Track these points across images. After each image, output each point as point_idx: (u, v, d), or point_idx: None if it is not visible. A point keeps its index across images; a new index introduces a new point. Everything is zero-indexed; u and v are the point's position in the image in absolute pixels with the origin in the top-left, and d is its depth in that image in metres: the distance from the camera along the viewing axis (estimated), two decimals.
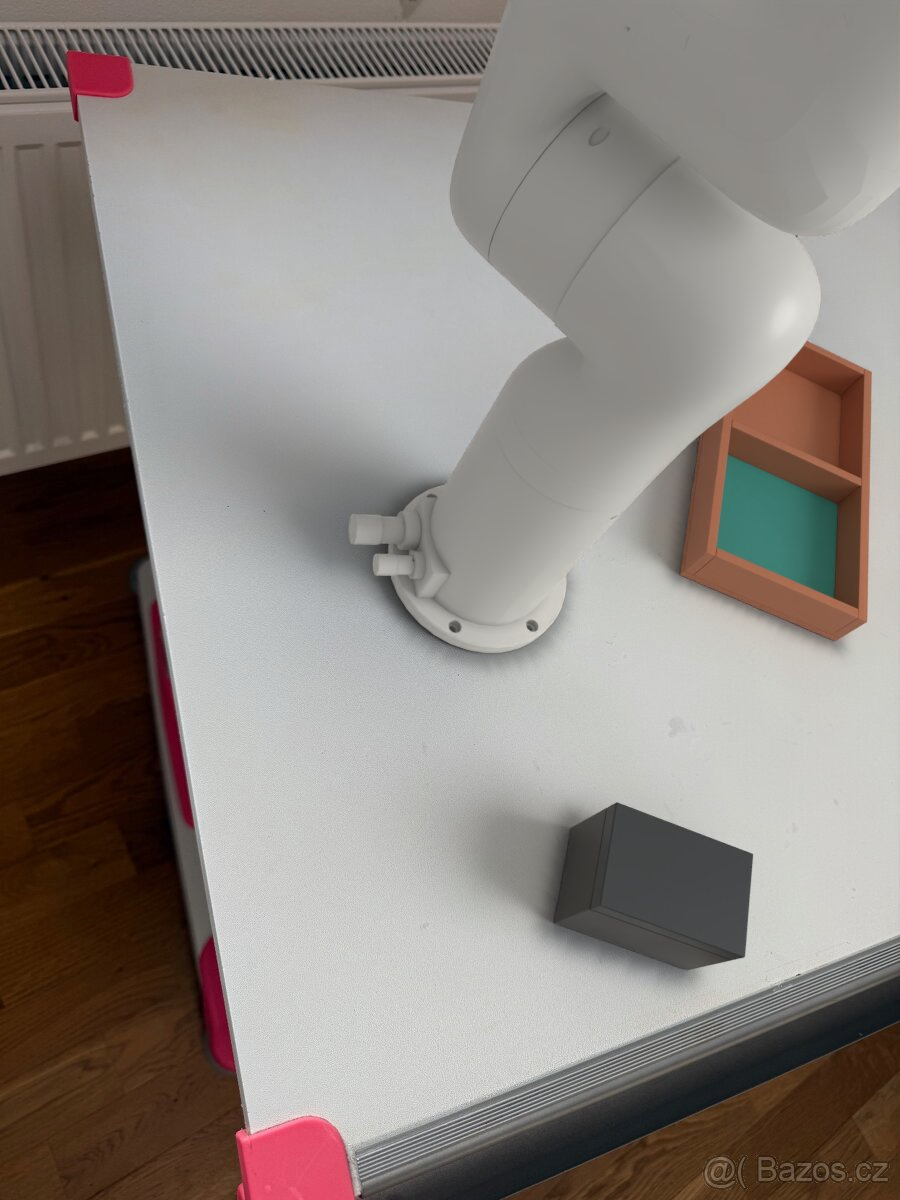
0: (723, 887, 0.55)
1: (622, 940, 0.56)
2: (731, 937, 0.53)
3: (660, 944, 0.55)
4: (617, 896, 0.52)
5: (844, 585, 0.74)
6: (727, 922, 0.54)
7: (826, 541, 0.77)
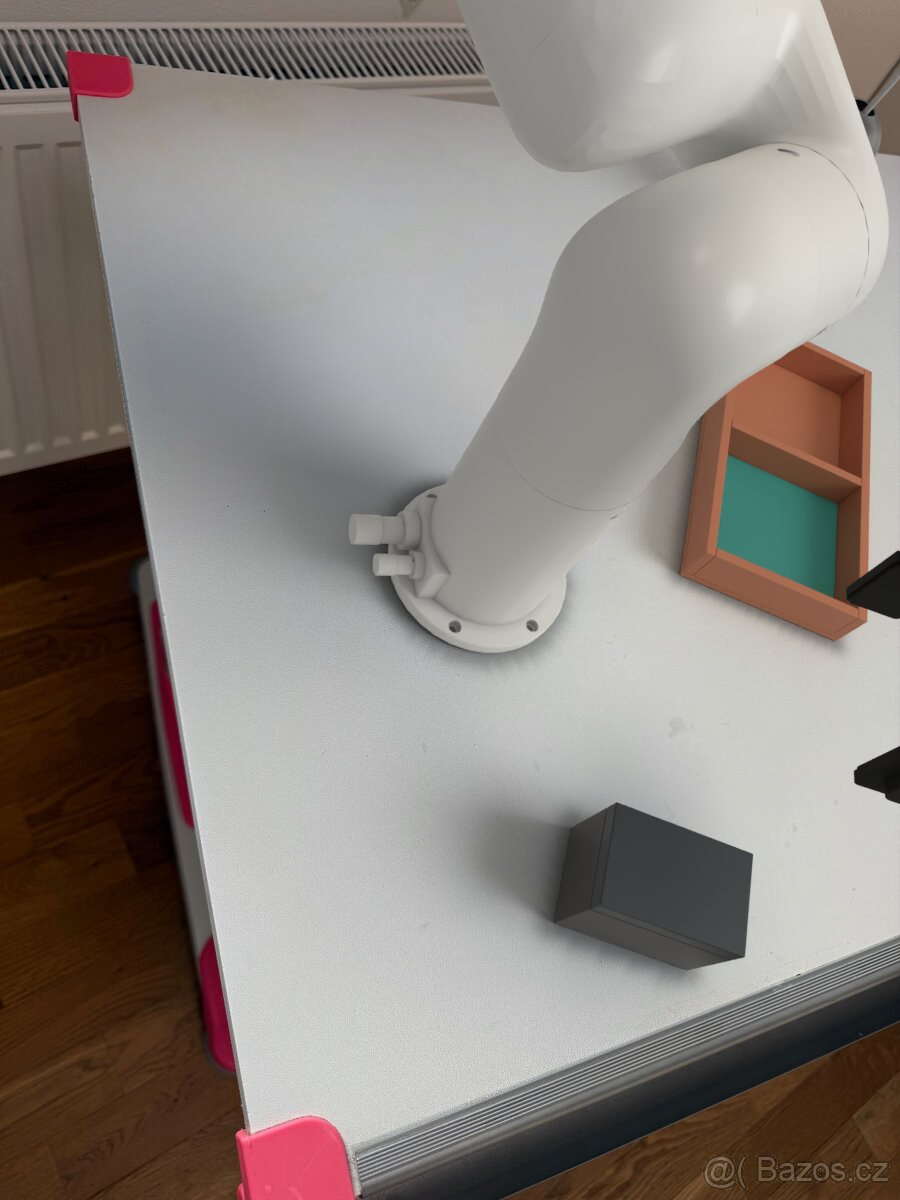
0: (723, 887, 0.55)
1: (622, 940, 0.56)
2: (731, 937, 0.53)
3: (660, 944, 0.55)
4: (617, 896, 0.52)
5: (844, 585, 0.74)
6: (727, 922, 0.54)
7: (826, 541, 0.77)
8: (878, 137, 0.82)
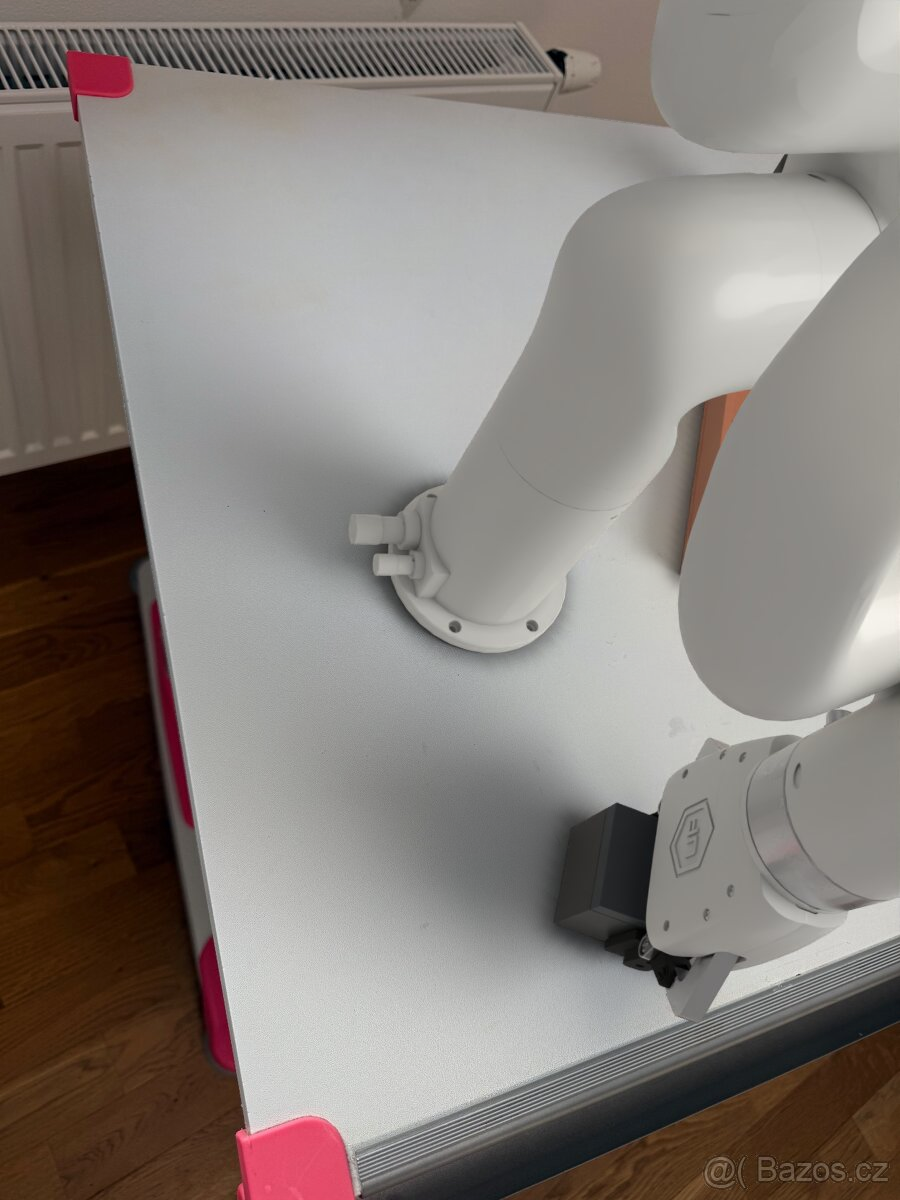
0: None
1: None
2: None
3: None
4: (617, 896, 0.52)
5: None
6: None
7: None
8: None
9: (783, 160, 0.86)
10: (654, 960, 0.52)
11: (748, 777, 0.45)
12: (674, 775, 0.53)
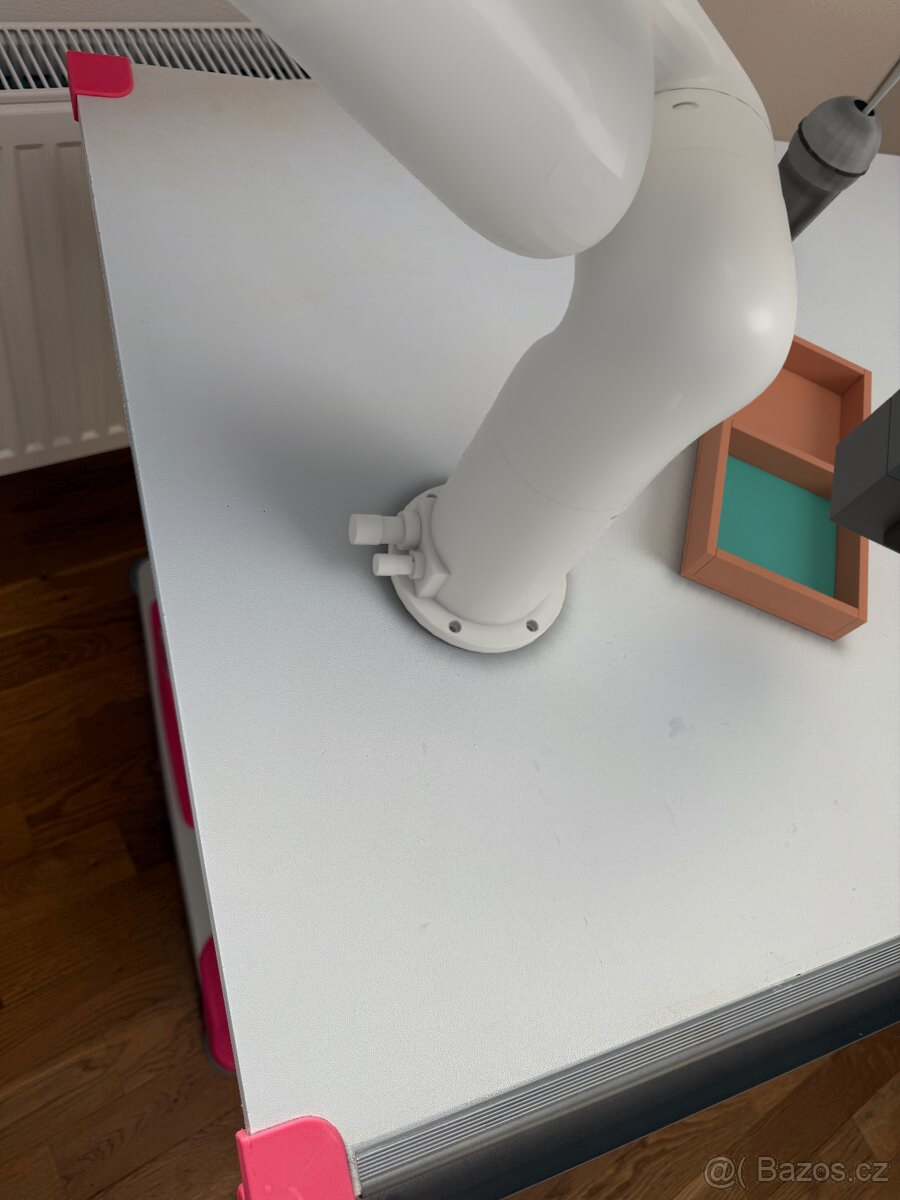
0: None
1: None
2: None
3: None
4: None
5: (844, 585, 0.74)
6: None
7: (826, 541, 0.77)
8: (878, 137, 0.82)
9: (783, 160, 0.86)
10: None
11: None
12: None
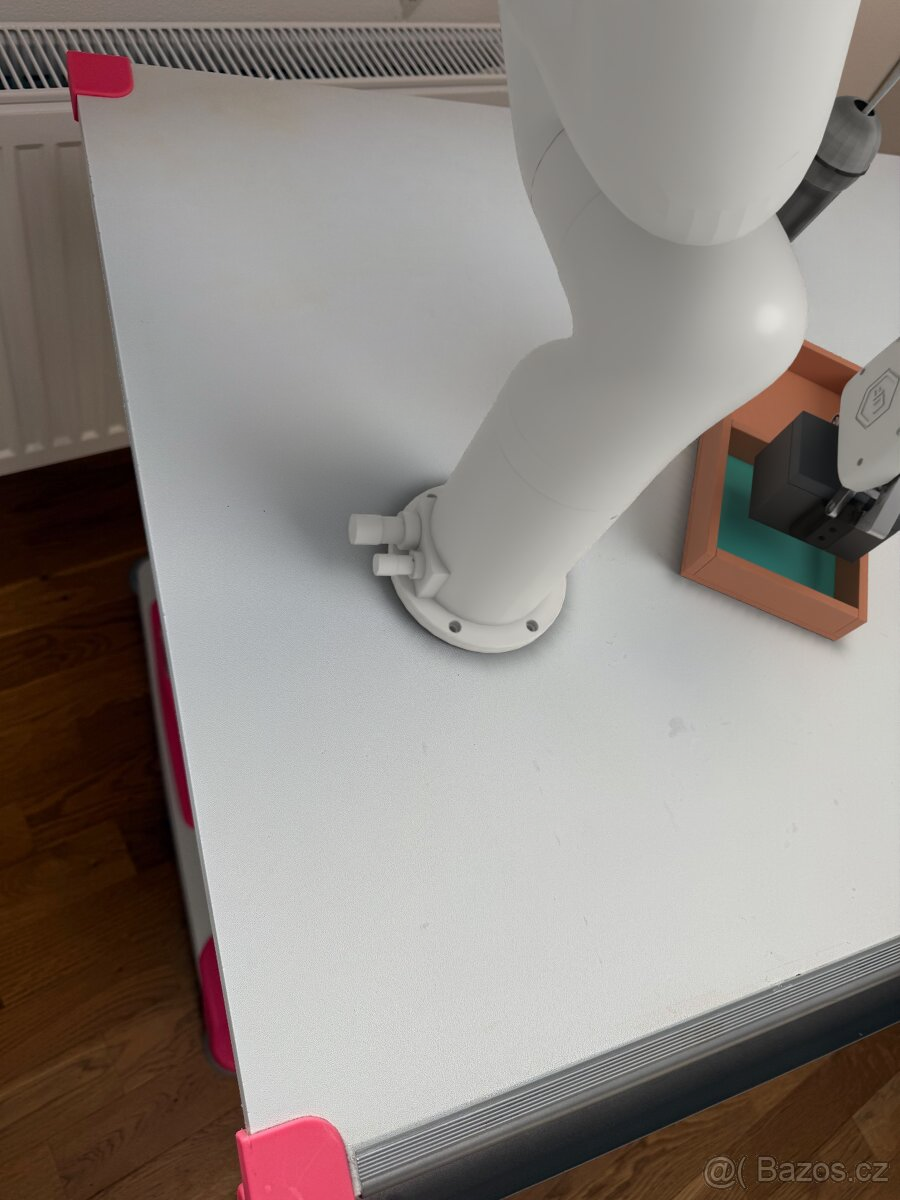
0: None
1: None
2: None
3: None
4: (811, 469, 0.66)
5: (844, 585, 0.74)
6: None
7: None
8: (878, 137, 0.82)
9: None
10: (840, 515, 0.66)
11: None
12: (851, 379, 0.67)
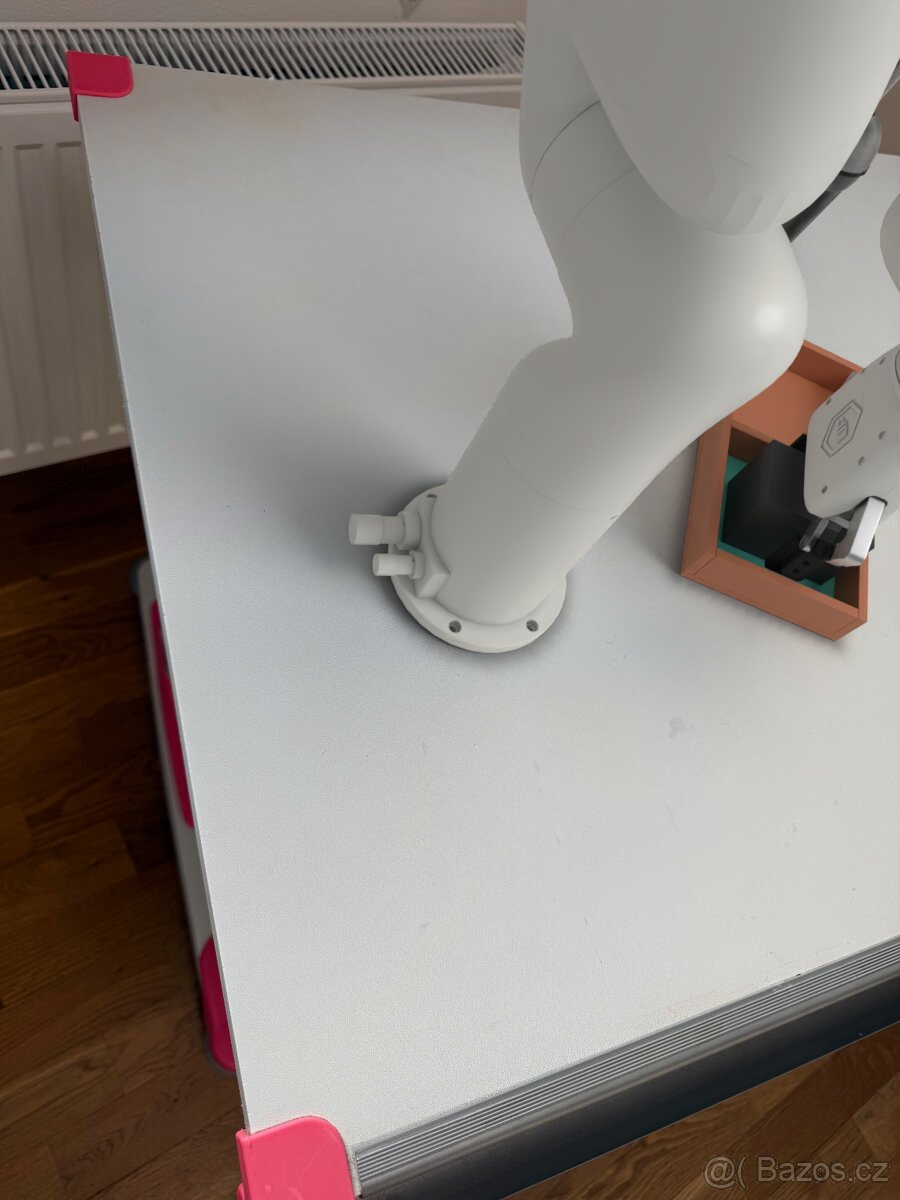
0: None
1: None
2: None
3: None
4: (779, 496, 0.69)
5: (844, 585, 0.74)
6: None
7: None
8: (878, 137, 0.82)
9: None
10: (813, 549, 0.67)
11: (893, 356, 0.61)
12: (818, 408, 0.70)
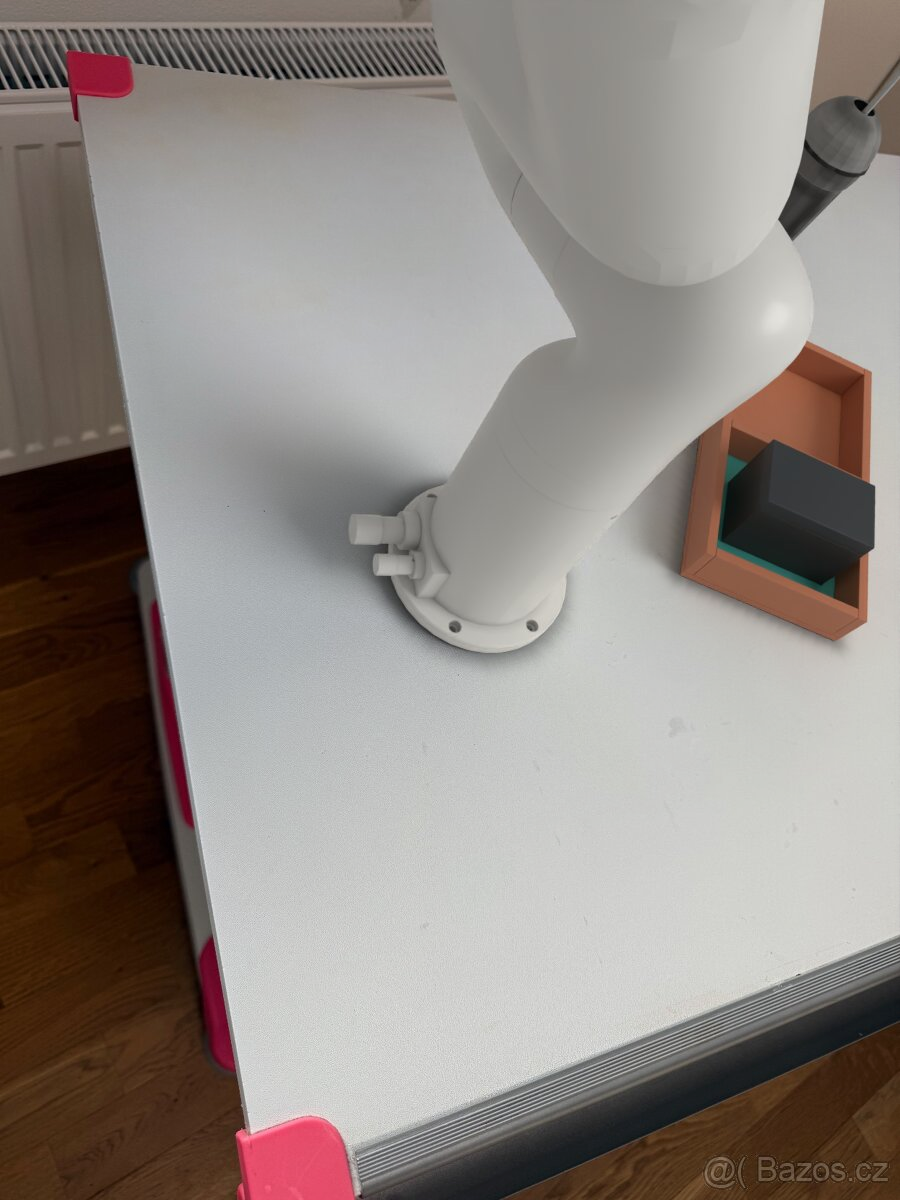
0: (855, 503, 0.72)
1: (775, 551, 0.73)
2: (863, 534, 0.70)
3: (806, 548, 0.72)
4: (779, 496, 0.69)
5: (844, 585, 0.74)
6: (860, 524, 0.71)
7: None
8: (878, 137, 0.82)
9: None
10: None
11: None
12: None
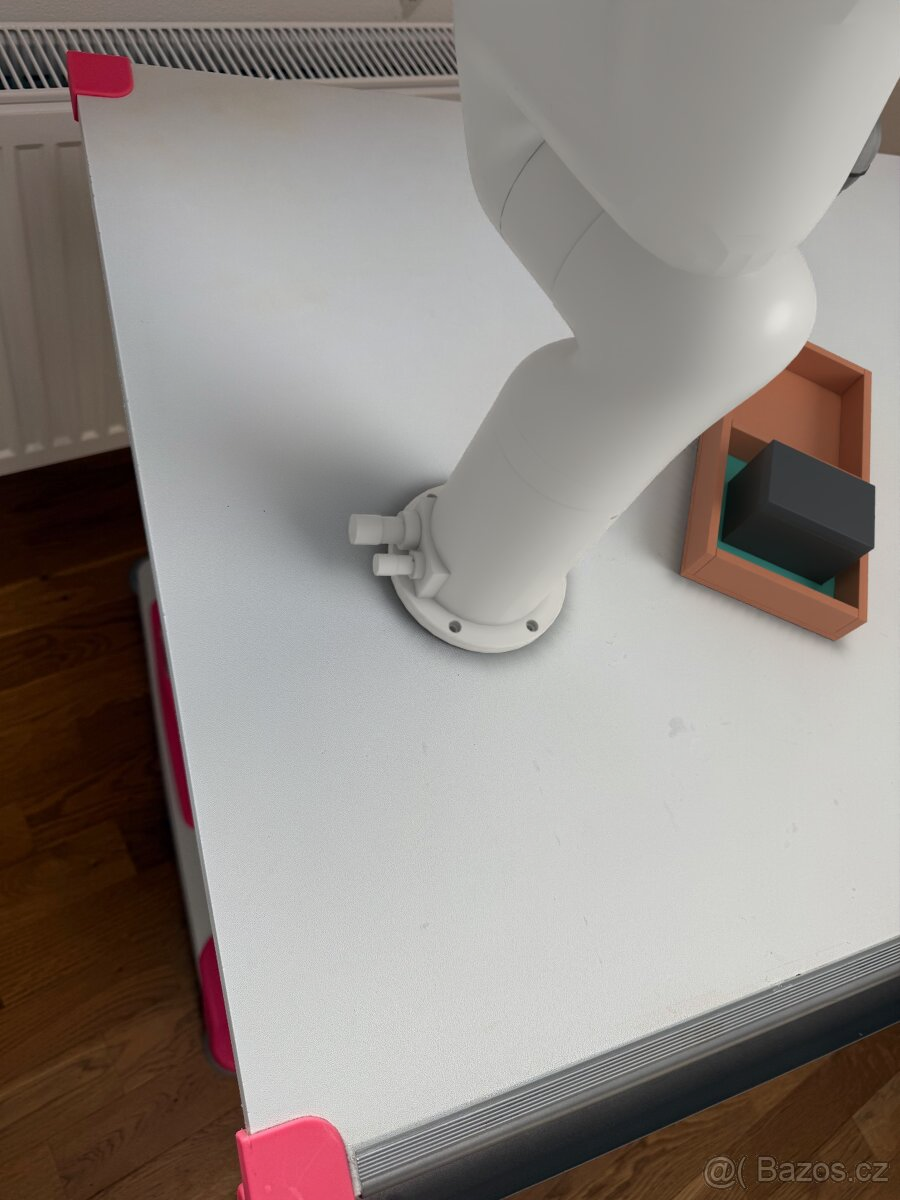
0: (855, 503, 0.72)
1: (775, 551, 0.73)
2: (863, 534, 0.70)
3: (806, 548, 0.72)
4: (779, 496, 0.69)
5: (844, 585, 0.74)
6: (860, 524, 0.71)
7: None
8: (878, 137, 0.82)
9: None
10: None
11: None
12: None
